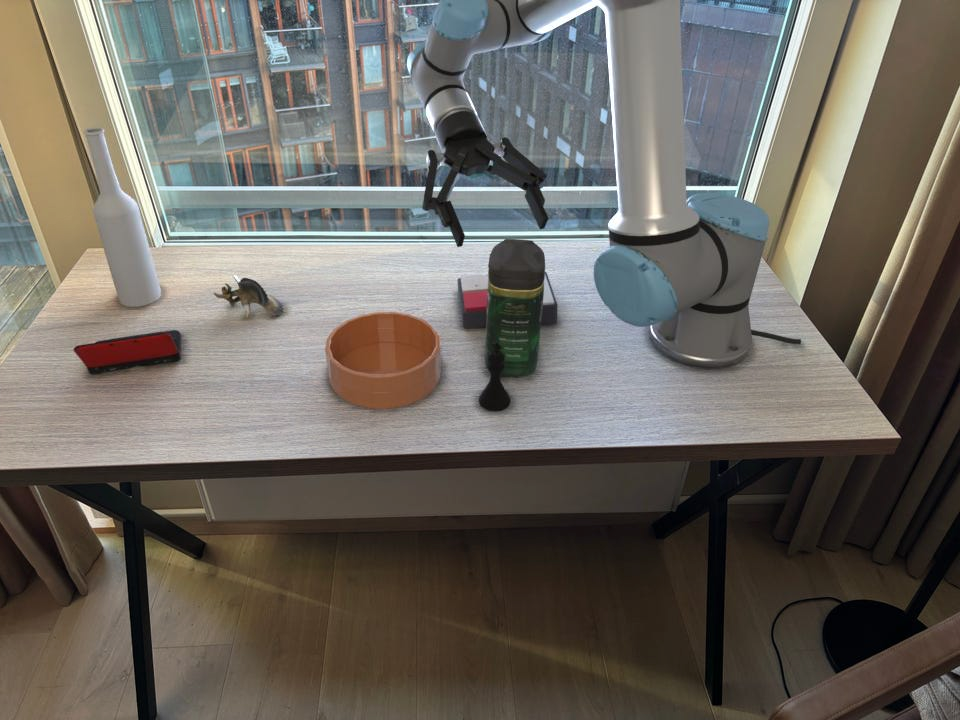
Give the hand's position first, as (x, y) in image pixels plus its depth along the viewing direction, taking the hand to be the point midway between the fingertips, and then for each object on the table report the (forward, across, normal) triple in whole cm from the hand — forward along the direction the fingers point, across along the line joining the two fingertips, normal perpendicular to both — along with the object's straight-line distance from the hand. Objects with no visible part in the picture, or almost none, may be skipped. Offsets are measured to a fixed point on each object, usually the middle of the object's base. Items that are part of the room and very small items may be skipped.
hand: (503, 232), depth 116 cm
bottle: (-17, +54, -24) cm, 61 cm away
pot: (+14, +22, -9) cm, 28 cm away
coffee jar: (+17, +4, -8) cm, 19 cm away
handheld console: (-1, +55, -15) cm, 57 cm away
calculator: (+6, -1, -14) cm, 15 cm away
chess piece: (+24, +10, -4) cm, 26 cm away
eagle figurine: (-7, +37, -19) cm, 43 cm away
